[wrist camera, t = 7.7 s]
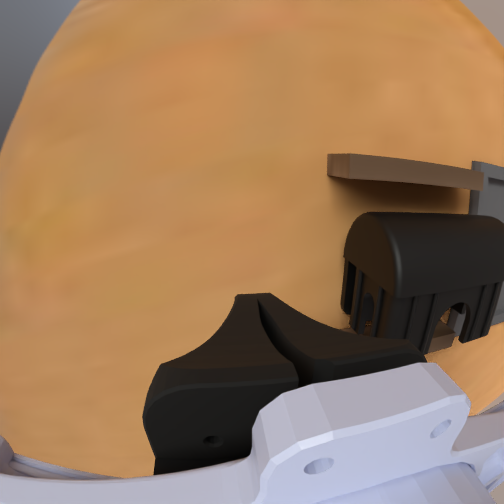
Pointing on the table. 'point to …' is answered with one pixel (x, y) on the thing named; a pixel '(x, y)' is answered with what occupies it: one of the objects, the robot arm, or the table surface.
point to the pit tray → (490, 204)
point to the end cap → (422, 273)
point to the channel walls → (410, 173)
